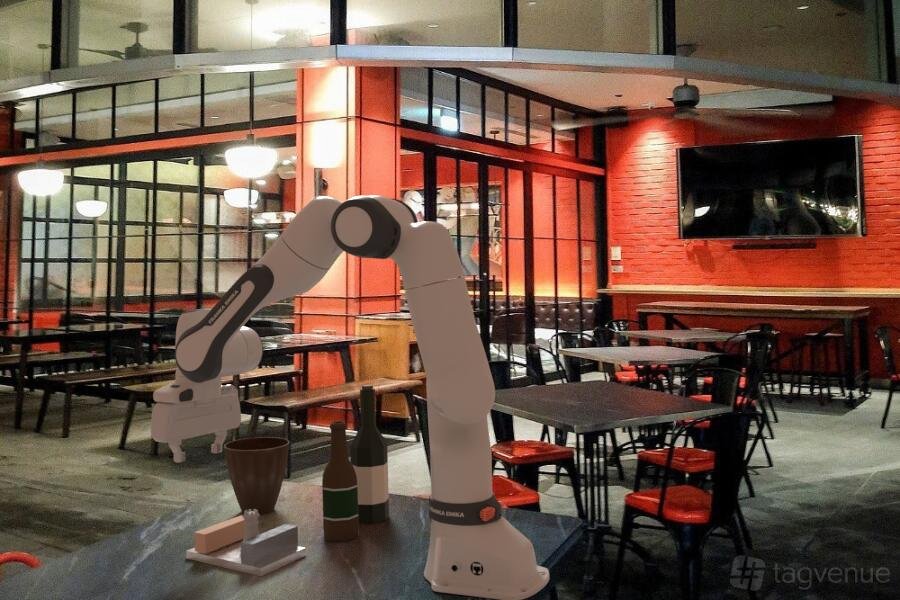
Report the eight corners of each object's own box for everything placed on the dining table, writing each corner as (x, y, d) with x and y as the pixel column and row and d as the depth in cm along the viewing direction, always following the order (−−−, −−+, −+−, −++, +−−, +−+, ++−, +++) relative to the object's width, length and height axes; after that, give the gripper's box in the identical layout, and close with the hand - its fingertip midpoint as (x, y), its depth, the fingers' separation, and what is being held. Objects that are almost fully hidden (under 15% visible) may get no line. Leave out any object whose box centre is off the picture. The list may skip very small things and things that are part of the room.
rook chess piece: (251, 557, 141) (250, 515, 141) (235, 553, 144) (233, 512, 144) (269, 550, 145) (267, 509, 145) (252, 546, 148) (251, 506, 147)
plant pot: (289, 498, 186) (287, 434, 186) (293, 516, 172) (291, 446, 172) (226, 504, 182) (224, 439, 182) (225, 523, 168) (223, 452, 168)
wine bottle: (396, 515, 170) (393, 384, 170) (373, 525, 163) (370, 388, 163) (367, 510, 175) (364, 382, 174) (344, 520, 168) (341, 386, 167)
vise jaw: (252, 535, 154) (251, 517, 154) (205, 553, 143) (205, 534, 143) (241, 533, 155) (241, 515, 155) (194, 551, 145) (194, 532, 145)
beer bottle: (352, 543, 152) (349, 426, 152) (316, 541, 154) (313, 425, 154) (364, 531, 160) (361, 419, 160) (330, 529, 162) (327, 418, 161)
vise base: (306, 555, 146) (305, 527, 146) (261, 576, 136) (260, 546, 136) (233, 539, 156) (232, 513, 156) (186, 558, 146) (185, 530, 146)
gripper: (226, 382, 162) (226, 446, 162) (145, 393, 144) (145, 465, 144) (248, 384, 159) (247, 449, 159) (167, 396, 141) (167, 469, 141)
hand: (198, 457), depth 152 cm, fingers open, 8 cm apart
